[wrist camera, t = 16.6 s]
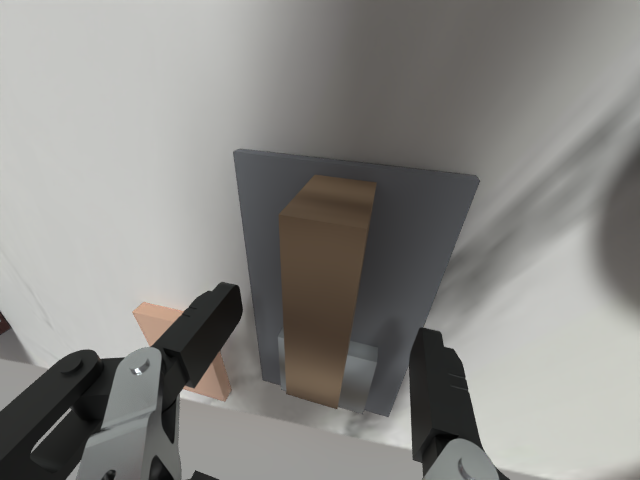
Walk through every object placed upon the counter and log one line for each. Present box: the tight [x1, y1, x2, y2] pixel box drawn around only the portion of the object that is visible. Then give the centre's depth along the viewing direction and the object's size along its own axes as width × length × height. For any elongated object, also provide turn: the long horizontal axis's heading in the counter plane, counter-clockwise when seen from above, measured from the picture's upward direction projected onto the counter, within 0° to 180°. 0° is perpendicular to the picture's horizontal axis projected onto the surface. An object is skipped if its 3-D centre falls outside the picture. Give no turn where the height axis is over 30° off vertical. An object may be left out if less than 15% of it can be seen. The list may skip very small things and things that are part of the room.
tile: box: [132, 302, 231, 401], centre depth 22 cm, size 2×6×10 cm
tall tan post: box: [278, 175, 378, 414], centre depth 13 cm, size 16×6×4 cm, turn 177°
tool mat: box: [233, 149, 480, 417], centre depth 15 cm, size 18×10×1 cm, turn 177°
